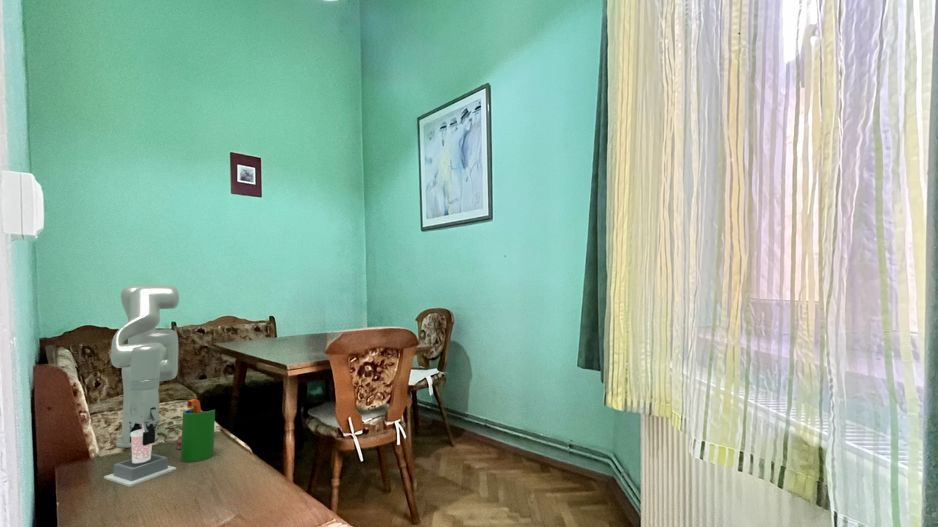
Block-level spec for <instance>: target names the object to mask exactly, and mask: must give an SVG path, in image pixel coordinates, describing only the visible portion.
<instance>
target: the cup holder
mask: <svg viewBox="0 0 938 527" xmlns="http://www.w3.org/2000/svg"><path fill="white" fill-rule="evenodd" d="M176 470H177V467H175V466H172V465H169V457H167V456H164V455H160V454H156V453H153V452H151V459H150V460H148V461H146V462H142V463H132V458H129V459H126V460H123V461H121V462H120V461H119V462H117V463H114V464H113V473H110V474H108V475H104V476H103V479H104V480H107V481H111V482H114V483H116V484H119V485H122V486H125V487H128V488H129V487H130V488H131V487H132V486H136V485H138V484H141V483H143V482H146V481H149V480H152V479H155V478H158V477H160V476H162V475H165V474H168V473H171V472H174V471H176Z"/></svg>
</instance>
